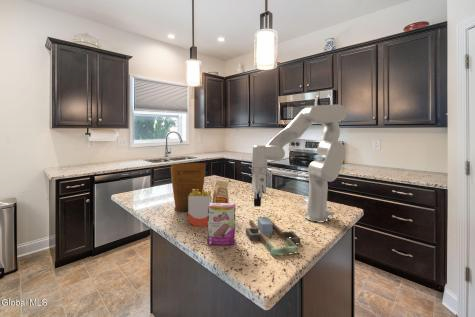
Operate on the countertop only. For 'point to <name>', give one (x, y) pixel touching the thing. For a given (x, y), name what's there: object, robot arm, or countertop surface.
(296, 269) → the countertop surface
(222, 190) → the milk carton
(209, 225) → the candy bar box
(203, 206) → the french fries container
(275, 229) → the lane
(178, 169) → the pancake mix bag
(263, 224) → the block
